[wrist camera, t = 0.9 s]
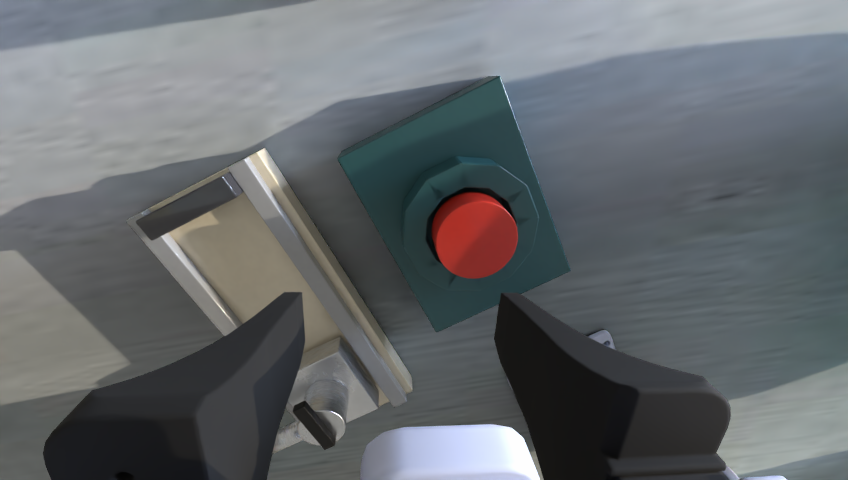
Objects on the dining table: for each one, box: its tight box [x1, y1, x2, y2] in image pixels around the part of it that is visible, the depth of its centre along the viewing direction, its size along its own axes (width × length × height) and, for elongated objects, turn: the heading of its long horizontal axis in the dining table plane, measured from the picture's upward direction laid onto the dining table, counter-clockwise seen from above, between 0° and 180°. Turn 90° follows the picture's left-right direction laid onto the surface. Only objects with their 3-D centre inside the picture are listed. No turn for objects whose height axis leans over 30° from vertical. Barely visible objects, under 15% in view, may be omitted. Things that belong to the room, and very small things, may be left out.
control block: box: [338, 76, 571, 332], centre depth 22 cm, size 12×9×4 cm
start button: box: [432, 192, 518, 279], centre depth 19 cm, size 4×4×2 cm
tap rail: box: [126, 148, 413, 421], centre depth 23 cm, size 18×8×3 cm, turn 26°
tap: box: [272, 336, 379, 454], centre depth 23 cm, size 5×7×4 cm
